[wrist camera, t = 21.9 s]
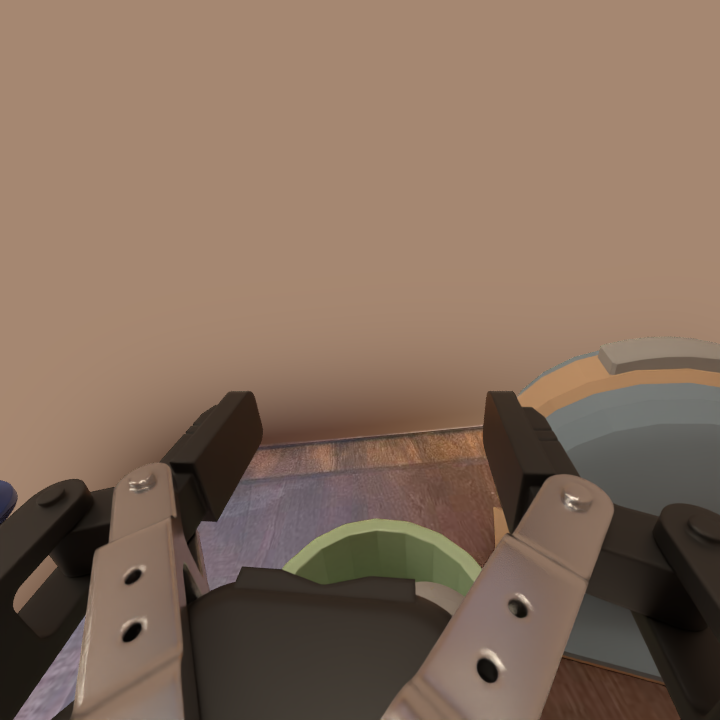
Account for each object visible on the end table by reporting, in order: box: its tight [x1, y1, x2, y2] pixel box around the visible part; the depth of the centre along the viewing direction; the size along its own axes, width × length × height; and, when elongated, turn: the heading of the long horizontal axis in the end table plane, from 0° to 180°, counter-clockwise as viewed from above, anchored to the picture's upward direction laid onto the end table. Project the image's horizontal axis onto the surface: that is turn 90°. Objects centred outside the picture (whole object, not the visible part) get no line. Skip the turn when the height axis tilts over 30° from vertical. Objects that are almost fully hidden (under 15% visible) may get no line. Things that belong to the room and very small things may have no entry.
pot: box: [282, 518, 482, 597], centre depth 16 cm, size 12×12×8 cm
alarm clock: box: [493, 337, 720, 685], centre depth 19 cm, size 14×10×18 cm
